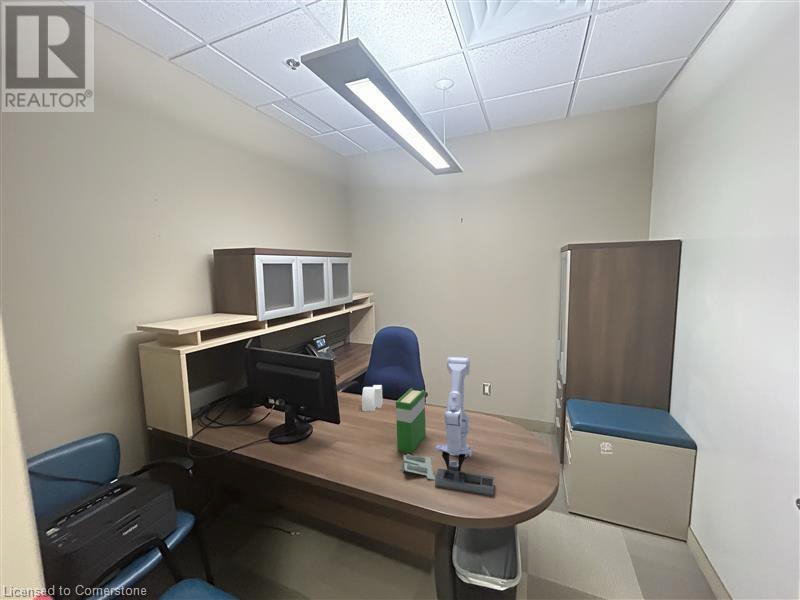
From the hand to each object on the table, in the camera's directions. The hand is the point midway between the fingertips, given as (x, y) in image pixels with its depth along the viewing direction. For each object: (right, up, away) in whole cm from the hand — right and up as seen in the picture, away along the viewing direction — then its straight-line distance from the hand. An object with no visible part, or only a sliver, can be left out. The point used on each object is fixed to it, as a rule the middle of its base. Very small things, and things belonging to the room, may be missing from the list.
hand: (454, 469), depth 138 cm
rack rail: (+3, -2, -8) cm, 9 cm away
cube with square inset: (0, -2, 0) cm, 2 cm away
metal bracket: (-15, -2, +3) cm, 16 cm away
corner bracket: (-39, +4, +65) cm, 77 cm away
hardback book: (-17, 0, +24) cm, 29 cm away
